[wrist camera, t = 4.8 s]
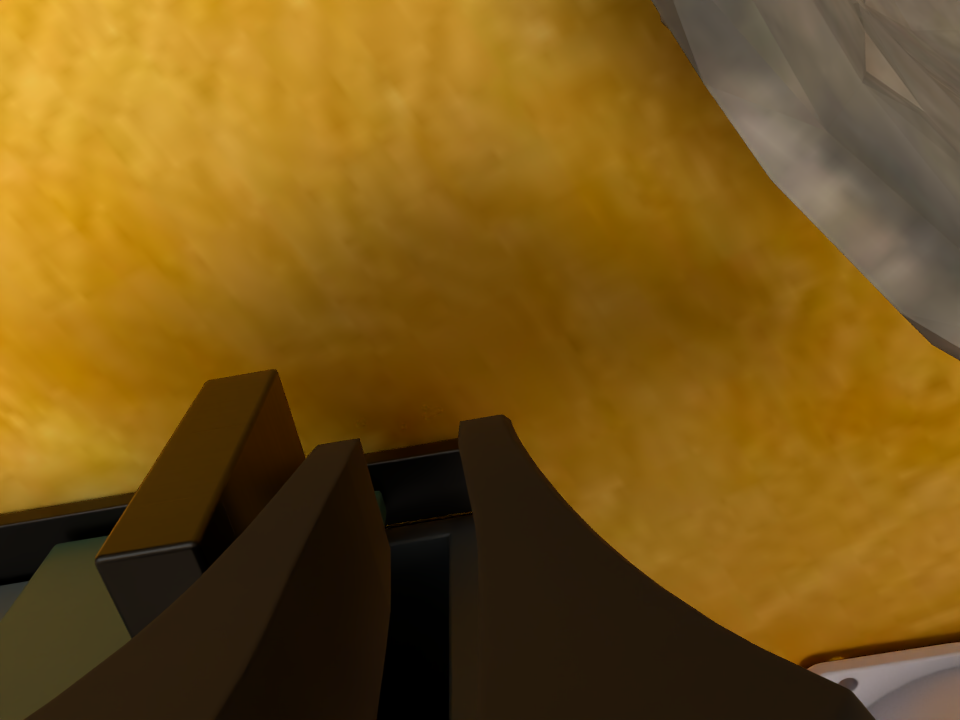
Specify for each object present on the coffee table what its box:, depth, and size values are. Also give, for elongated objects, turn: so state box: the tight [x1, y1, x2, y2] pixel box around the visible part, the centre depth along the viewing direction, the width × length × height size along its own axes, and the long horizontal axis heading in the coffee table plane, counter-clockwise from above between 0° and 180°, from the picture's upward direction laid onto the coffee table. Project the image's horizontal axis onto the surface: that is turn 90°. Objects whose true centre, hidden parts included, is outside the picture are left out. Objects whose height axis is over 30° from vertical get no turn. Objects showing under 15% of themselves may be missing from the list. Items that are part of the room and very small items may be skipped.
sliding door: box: [0, 369, 387, 720], centre depth 12 cm, size 7×5×8 cm, turn 100°
